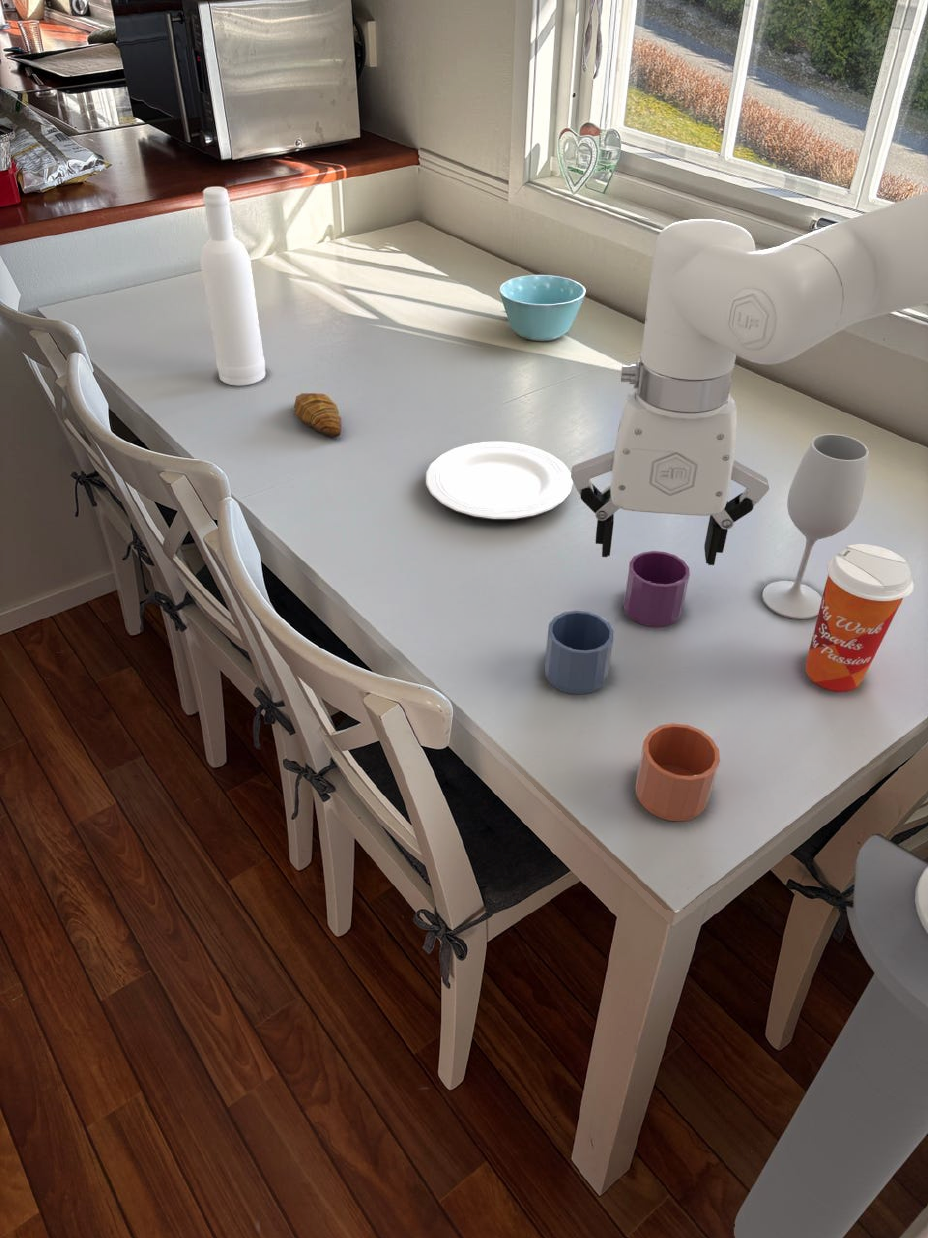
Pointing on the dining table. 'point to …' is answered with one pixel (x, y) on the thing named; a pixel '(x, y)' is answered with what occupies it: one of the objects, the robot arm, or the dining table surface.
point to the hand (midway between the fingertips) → (657, 552)
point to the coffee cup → (855, 614)
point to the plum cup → (655, 588)
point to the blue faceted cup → (578, 652)
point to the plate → (499, 480)
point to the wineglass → (820, 512)
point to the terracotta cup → (676, 771)
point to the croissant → (318, 413)
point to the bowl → (541, 305)
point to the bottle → (230, 296)
